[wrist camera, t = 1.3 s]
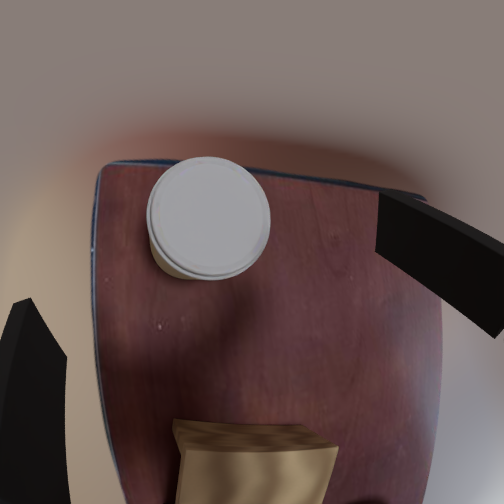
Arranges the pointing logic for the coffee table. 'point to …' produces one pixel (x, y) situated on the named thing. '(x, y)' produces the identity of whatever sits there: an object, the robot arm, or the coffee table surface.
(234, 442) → the wooden stand
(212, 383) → the coffee table surface
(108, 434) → the coffee table surface
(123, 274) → the coffee table surface
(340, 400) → the coffee table surface
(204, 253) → the coffee cup
